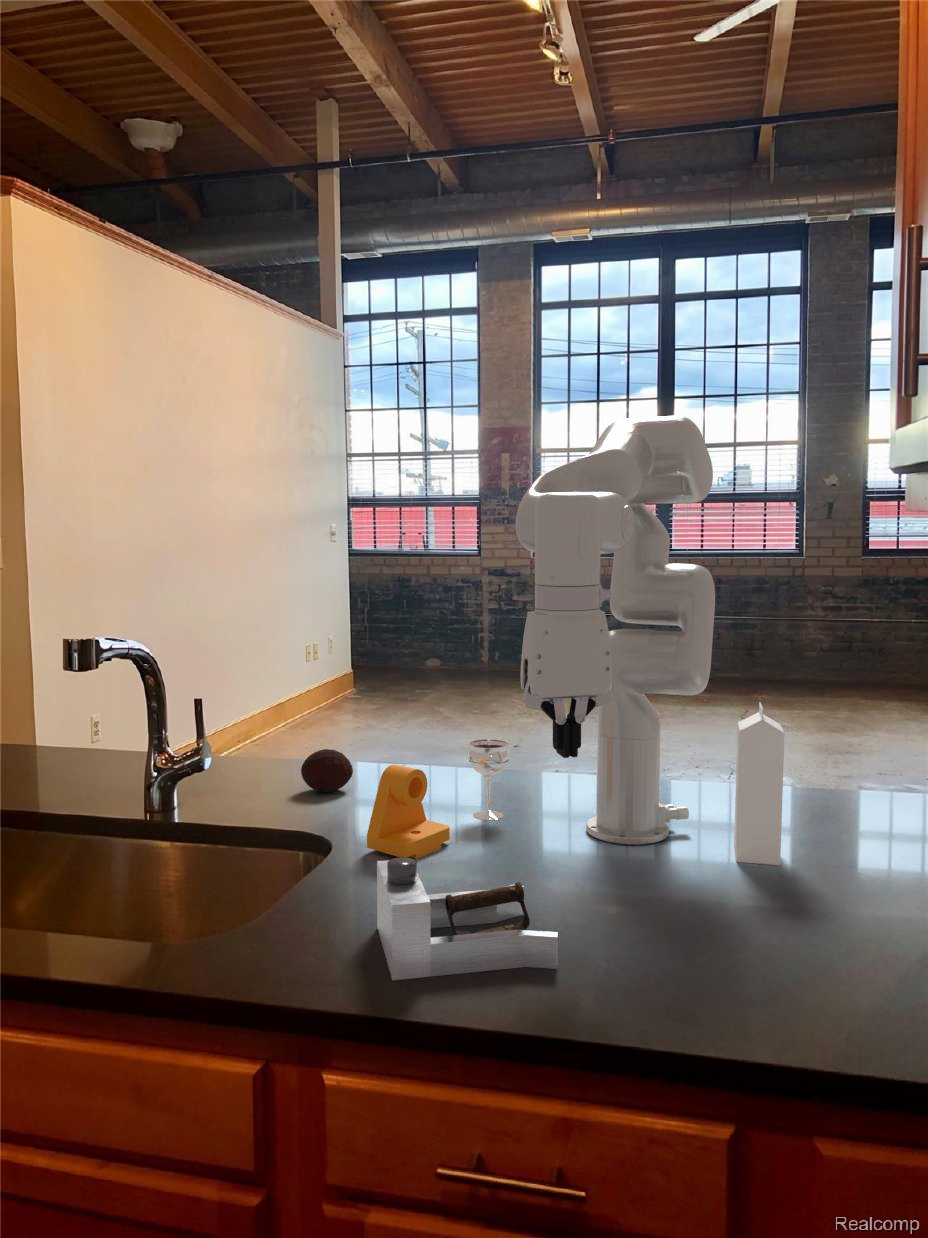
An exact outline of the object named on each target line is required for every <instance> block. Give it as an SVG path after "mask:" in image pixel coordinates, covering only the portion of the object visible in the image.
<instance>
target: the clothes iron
mask: <svg viewBox="0 0 928 1238" xmlns="http://www.w3.org/2000/svg"><path fill="white" fill-rule="evenodd" d="M514 884H515V885H514ZM514 884H511V885H512V886H510V885H506V886H507V887H506V886H501V887H498V888H491V890H490V889H484V890H485V891H480V892H474V893H468V894H462V895H457V896H451V895H450V894H449V895H446V898H445V905H446V911H447V915H448V918H449V922H450V926H451V927H450V928H451V930H452V932H453V934H454V935H465V934H475V933H486V932H497V931H508V930H519V929H520V930H527V929H528V928H529V926H530V923H531V922H530V916H529V913H528V911H527V908H526V907H527V906H526V903H525V889H524V890H523V887H522V886H523V885H522V883H521V882H520V881H517V882H515V883H514ZM510 902H518V903H520V905H521V907H522V910H523V913H524V915H523V916H522V917H523V918H522V919H521V920H520V921H519V922H518V923H516V924H515V925H514V924H507V925H501V926H496V927H492V928H486V929H483V930H480V931H476V932H475V931H474V932H472V933H471V932H470V931H466V930H456V926H454V923H453V920H452V915H453V914H454V913H455V912H460V911H466V910H471V909H477V908H482V907H488V906H493V905H499V904H505V903H510Z"/></svg>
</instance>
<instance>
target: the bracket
mask: <svg viewBox="0 0 928 1238" xmlns="http://www.w3.org/2000/svg"><path fill="white" fill-rule="evenodd" d="M427 791H428V778H427V775H426V773H425V772H424V771H423V770H422V769H419V768H414V767H409V766H404V765H399V764H390V765H389V766H387V767H386V768H385V769H384V770H383V772H382V773H381V776H380V779H379V783H378V787H377V793H376V796H375V800H374V805H373V808H372V813H371V816H370V820H369V824H368V829H367V831H366V832H367V833H366V849H370V850H374V851H378V852H379V853H380V852H381V853H384V854H387V855H391V856H395V857H396V858H411V859H414V860H416V859H420V858H422V857H423V856H426V855H429V854H431V853H434V852H436V851H438V850H441V849H442V844H443V843H445V842H448V841H450V830H451V829H450V825H447V824H443V823H440V822H436V821H432V820H429V819H427V817H426V813H425V810H424V806H423V802H422V801H423V800H424V798H425V796H426V795H427Z"/></svg>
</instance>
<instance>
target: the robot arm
mask: <svg viewBox="0 0 928 1238" xmlns="http://www.w3.org/2000/svg"><path fill="white" fill-rule="evenodd" d="M709 453H710V452H709V450H708V447H707V444H706V442H705V439H704V437H703V434H702V432H701V430H700V428H699V427H698V425H697V424H696V423H695V422H694V421H693V420H691V419H690V418H688V417H685V416H681V415H667V416H663V415H662V416H651V417H649V416H648V417H646V416H645V417H628V418H625V419H624V418H623V419H619V420H616V421H615V422H612V423H611V424H610V425H608V426H607V427H606V428H605V429H604V431H603V432H602V433H601V435H600V436H599V438H598V439H597V441H596V443H595V444H594V446H593V447H592V449H591V450H590V452H589V453H588V454H586V455H584V456H580V457H578V458H576V459H574V460H571V461H569V462H567V463H565V464H562V465H559V466H557V467H554V468H552V469H550V470H548V471H546V472H544V473H543V474H541V475H540V476H538V477H537V478H535V480H534V481H533V482H532V483H531V485H530V486H529V487H528V489H527V490H526V492H525V493H524V495H523V497H522V499H521V500H520V502H519V505H518V507H517V511H516V515H515V525H514V526H515V533H516V537H517V540H518V542H519V543H520V544H521V546H522V547H523V548H524V549H526V550H527V551H529V552H532V553H534V610H531V611H527V614H526V620H525V625H524V630H523V640H522V647H521V648H522V649H521V656H520V657H521V659H520V660H521V661H520V688H521V689H522V690H523V696H522V699H521V704H522V705H523V706H524V707H525V708H527V709H532V710H536V711H541V712H543V713H544V714H545V715H546V716H547V717H549V719H550V720H551V721H552V747H553V749H554V750H555V751H556V753H557V754H558V755H559V756H561V757H562V758H563V759H568V758H578V756H579V755H578V753H579V751H578V750H579V749H581V748H582V747H581V746H582V724H583V723H585V721H586V717H588V716H589V714H590V713H591V712H592V711H593V710H594V709H595V708H597V753H596V755H597V757H596V758H597V759H596V760H597V763H596V815H595V816H593V817H590V818H588V820H587V821H586V823H585V825H586V827H585V830H586V832H587V833H588V834H589V835H590V836H592V837H593V838H595V839H598V840H600V841H604V842H607V843H611V844H612V843H614V844H619V845H620V844H621V845H633V846H634V845H635V846H637V845H638V846H639V845H647V844H654V843H658V842H662V841H663V840H665V839H667V838H668V836H669V834H670V833H669V831H670V830H669V828H670V827H669V825H668V824H667V823H669V822H670V821H671V820H676V821H678V820H681V821H682V820H688V819H689V817H690V812H689V808H688V807H687V806H675V807H674V805H673V804H662V803H661V802H660V782H661V781H660V780H661V779H660V778H661V774H660V773H661V767H660V766H661V732H662V731H661V728H662V727H661V720H660V717H659V714H658V712H657V710H656V709H655V708H654V705H652V703H651V702H650V700H649V699H648V697H647V696H646V695H645V694H650V695H651V694H658V695H659V694H661V695H673V696H675V695H676V696H677V695H678V696H695V695H698V694H701V693H703V692H704V691H705V689H706V688H707V687H708V686H707V685H708V683H709V679H710V675H711V674H710V673H711V665H712V655H713V654H712V651H713V637H714V623H715V622H714V621H715V612H716V611H715V610H716V608H715V607H716V590H715V589H716V588H715V583H714V579H713V576H712V573H711V572H710V571H709V569H707V568H706V567H704V566H702V565H699V564H694V563H669V556H670V555H669V554H670V545H671V538H670V537H671V536H670V534H669V532H668V530H667V528H666V527H665V526H664V524H663V522H662V521H661V520H660V519H659V518H658V516H657V515H655V513H653V512H652V510H650V509H649V508H648V507H647V505H646V504H656V505H657V504H695V503H698V502H701V501H703V500H705V499H706V498H707V497H708V496H709V494H710V492H711V489H712V486H713V481H714V480H713V479H714V472H713V471H714V469H713V463H712V459H711V456H710V454H709ZM606 554H608V555H609V554H613V559H612V560H613V562H612V569H611V579H610V588H604V587H603V585H602V584H601V555H606ZM605 601H609V607H610V612H611V614H612V616H613V617H614V618H615V619H616V620H618V621H620V622H624V623H627V624H639V625H656V626H658V625H659V626H677V627H679V628H680V629H681V631H678V630H677V631H675V630H654V629H638V628H637V629H635V628H632V629H631V628H620V629H612V630H609V625H608V620H607V616H606V612H605V610H604V611H603V610H601V608H602V606H603V605H602V604H603V602H605ZM564 699H569V702H568V709H567V714H566V709H565V702H564Z"/></svg>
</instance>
